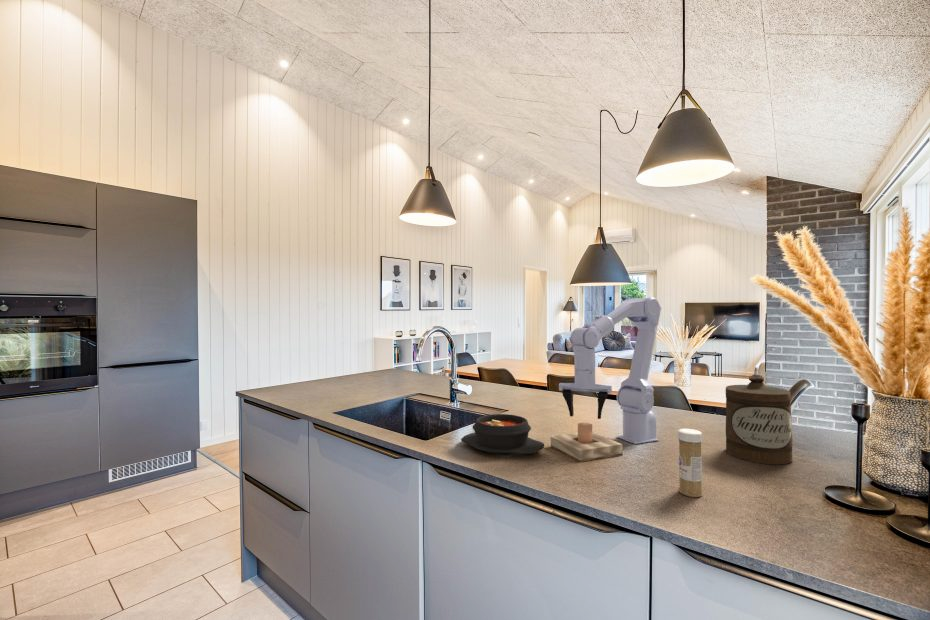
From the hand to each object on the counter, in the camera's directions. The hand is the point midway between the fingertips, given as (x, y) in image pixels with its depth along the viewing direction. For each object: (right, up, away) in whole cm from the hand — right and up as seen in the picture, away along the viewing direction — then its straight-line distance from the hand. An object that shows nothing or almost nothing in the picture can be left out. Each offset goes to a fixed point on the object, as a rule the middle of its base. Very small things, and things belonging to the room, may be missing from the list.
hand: (585, 417), depth 119 cm
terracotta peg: (0, -9, -1) cm, 9 cm away
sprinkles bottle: (+14, -9, -30) cm, 34 cm away
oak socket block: (0, -9, -1) cm, 9 cm away
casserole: (-24, -10, +2) cm, 26 cm away
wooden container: (+45, -9, -6) cm, 47 cm away
